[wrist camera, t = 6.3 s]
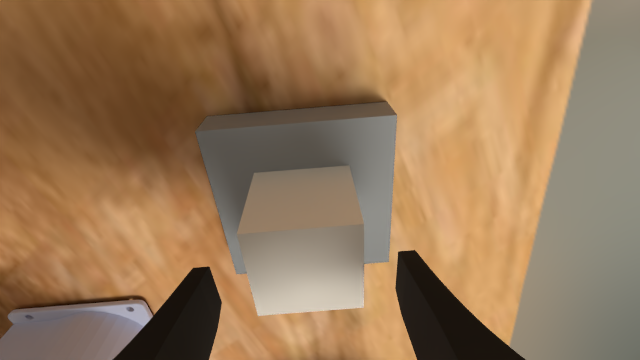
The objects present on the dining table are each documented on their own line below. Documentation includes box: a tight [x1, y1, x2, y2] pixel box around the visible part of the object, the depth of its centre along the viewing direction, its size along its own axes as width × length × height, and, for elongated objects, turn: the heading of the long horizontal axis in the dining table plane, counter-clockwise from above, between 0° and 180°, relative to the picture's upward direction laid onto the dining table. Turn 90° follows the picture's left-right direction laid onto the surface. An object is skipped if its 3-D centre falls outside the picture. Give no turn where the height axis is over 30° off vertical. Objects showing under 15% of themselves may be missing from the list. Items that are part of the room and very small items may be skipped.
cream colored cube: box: [237, 165, 364, 316], centre depth 14 cm, size 5×5×4 cm
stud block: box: [195, 102, 397, 274], centre depth 16 cm, size 9×9×4 cm
